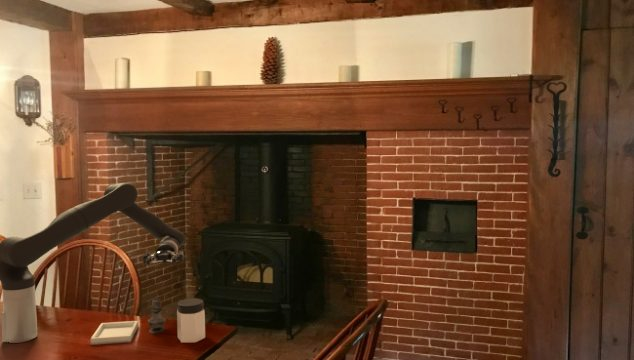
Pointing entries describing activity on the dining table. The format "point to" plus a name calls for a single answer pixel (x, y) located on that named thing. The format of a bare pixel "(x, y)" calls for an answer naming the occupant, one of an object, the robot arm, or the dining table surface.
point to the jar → (191, 320)
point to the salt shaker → (156, 317)
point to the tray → (114, 332)
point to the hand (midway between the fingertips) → (160, 262)
